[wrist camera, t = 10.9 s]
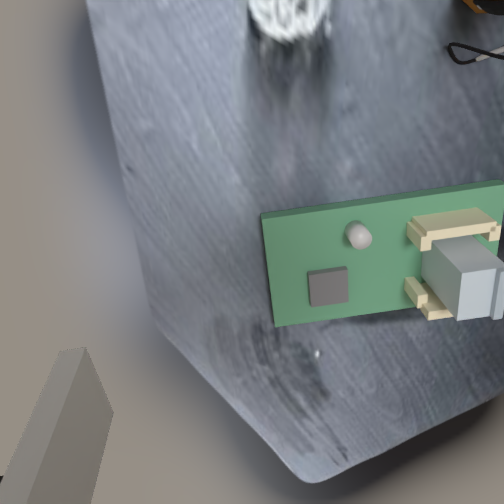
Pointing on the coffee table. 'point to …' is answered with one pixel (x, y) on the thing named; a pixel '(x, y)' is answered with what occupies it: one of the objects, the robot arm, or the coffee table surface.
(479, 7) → the multimeter
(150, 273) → the coffee table surface
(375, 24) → the coffee table surface
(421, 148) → the coffee table surface
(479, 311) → the plug
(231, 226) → the coffee table surface
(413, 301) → the board
